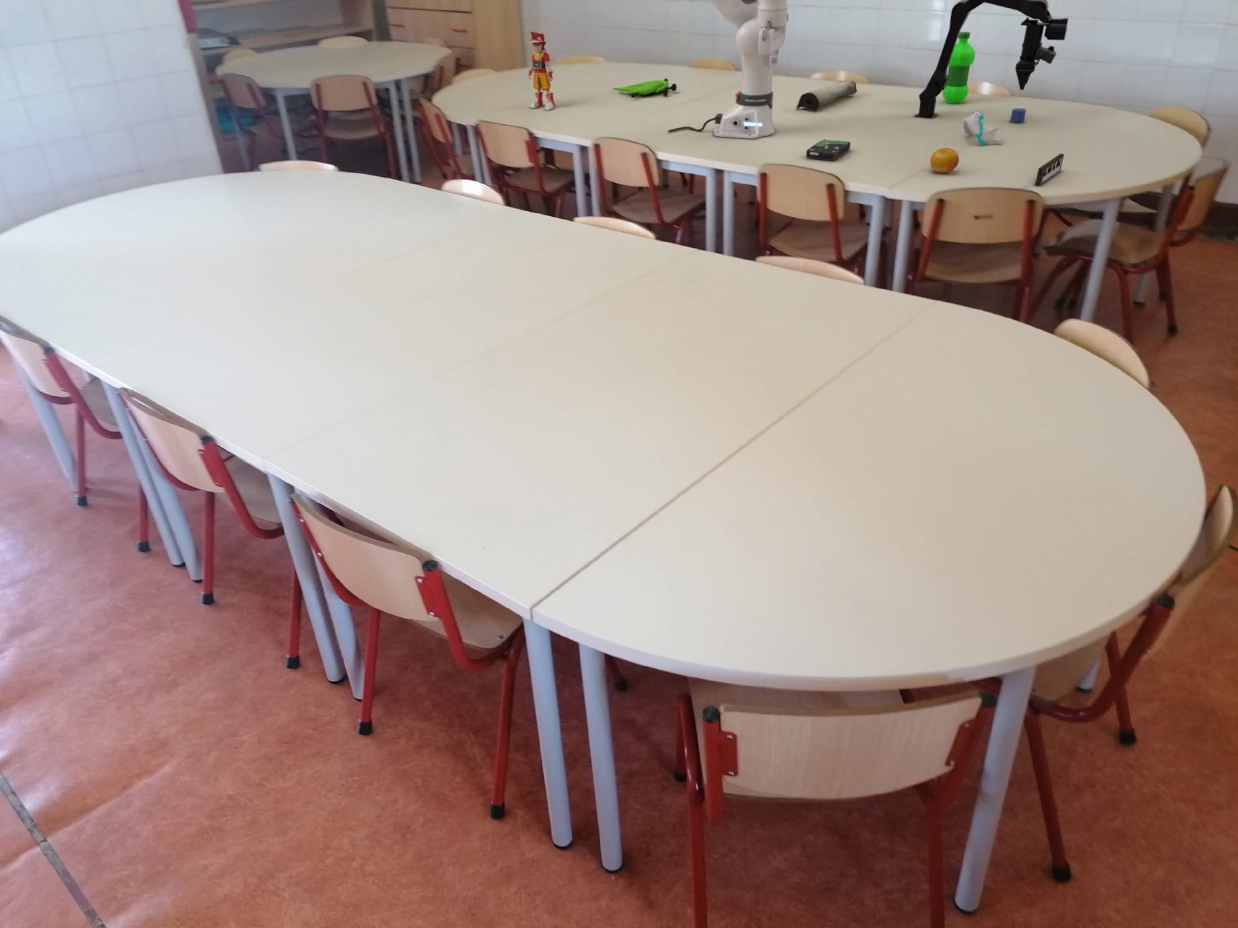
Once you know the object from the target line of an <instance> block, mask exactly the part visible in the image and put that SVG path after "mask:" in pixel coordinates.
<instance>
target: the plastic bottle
mask: <svg viewBox="0 0 1238 928" xmlns="http://www.w3.org/2000/svg"><path fill="white" fill-rule="evenodd" d="M970 36H971V32H970V31H960V33H959V36H958V42H956V45H955V48H954V51H953V54H952V57H951V60H950V62H949V65H948V69H947V75H950V78H949V79H948V81H947V87H946V88H945V89H944V90H942V97H943V99H944V100H945V101H946V102H947V103H948V104H960V103H961V102H963V101H964V100H966V98H967V96H968V95H969V85H968V79H969V73H970V67H971V65H972V64H973V63H974V61H975V57H976V51H975V49H974V47H972V45H971V44H970V43H969V42H968V41H969V39H970V38H971V37H970Z"/></svg>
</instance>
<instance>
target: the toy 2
mask: <svg viewBox="0 0 1238 928" xmlns="http://www.w3.org/2000/svg"><path fill="white" fill-rule="evenodd" d="M669 85H670V83H669V79H668V78H664V79H663V80H649V81H644V82H640V83H634V84H629V85H627V86H621V87H613V88H612V89H613V90H616V91H619V92H623V93H627V94H628V93H629V94H631V95H630V96H631V98H632V99H634V98H636V96H637V95H650V94H652V93H654V94H658V93H662V95H663V96H665V97H667V96H668V95H669V90H671V91H672V92H676V91H677V84H676V83H672V84H671V86H669Z"/></svg>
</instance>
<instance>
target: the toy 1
mask: <svg viewBox="0 0 1238 928" xmlns="http://www.w3.org/2000/svg"><path fill="white" fill-rule="evenodd" d="M529 33H530V35H531V36H528V37H527V38H528V39H529V40H528V41H527V43H529V44H530V43H531V44H532V48H533V50H534V51H533V52H532V55H531V58H530V59H531V63H530V66H528V74H527V75H528V76H527V77H528V79H529V80H531V75H532V74H533V84H532V85H533V86H532V87H533V88H534V89H535V90H536V92H534V95H535V97H536V100H535V101H533V102H531V105H530V108H531V109H535V108H538V107H542V106H544V101H543V100H544V99H543V95H544V92H546V94H545V97H546V99H547V103H546V104H545V106H544V110H546V111H549V110H553V109H554V107H555V106H556V105H555V99H554V92H551V91H550V90H551V86H552V84H551V82H552V81H553V80H554V77H553V73H554V71H555V70H554V69H552V68H551V63H550V61H551V59H550V58H551V57H550V54H549V53H548V52H547V50H546V48H545V46H546V44H547V41H545V35H544V33H543V32H542V33H539V32H535V31H529Z"/></svg>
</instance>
